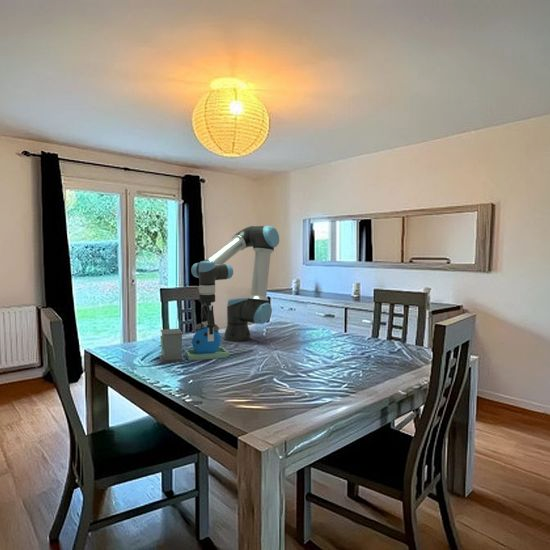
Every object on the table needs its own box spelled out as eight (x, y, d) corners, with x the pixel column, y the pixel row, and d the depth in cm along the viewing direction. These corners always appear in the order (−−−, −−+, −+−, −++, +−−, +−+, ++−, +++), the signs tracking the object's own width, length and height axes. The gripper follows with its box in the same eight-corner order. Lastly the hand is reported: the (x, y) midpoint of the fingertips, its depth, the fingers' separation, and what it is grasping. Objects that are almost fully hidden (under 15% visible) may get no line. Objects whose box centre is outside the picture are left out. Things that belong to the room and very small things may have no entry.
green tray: (223, 351, 205) (223, 347, 205) (229, 357, 194) (229, 352, 194) (184, 354, 198) (184, 349, 198) (188, 360, 188) (188, 355, 187)
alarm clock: (221, 353, 199) (221, 322, 198) (219, 356, 193) (220, 325, 192) (194, 353, 199) (194, 322, 198) (191, 356, 193) (191, 325, 192)
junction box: (180, 354, 197) (180, 328, 197) (184, 361, 186) (184, 333, 185) (159, 356, 194) (159, 329, 193) (161, 363, 183) (161, 334, 182)
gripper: (194, 290, 204) (195, 332, 206) (204, 297, 181) (205, 344, 183) (209, 290, 207) (209, 331, 209) (221, 296, 184) (221, 343, 186)
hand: (207, 337), depth 196 cm, fingers open, 13 cm apart
